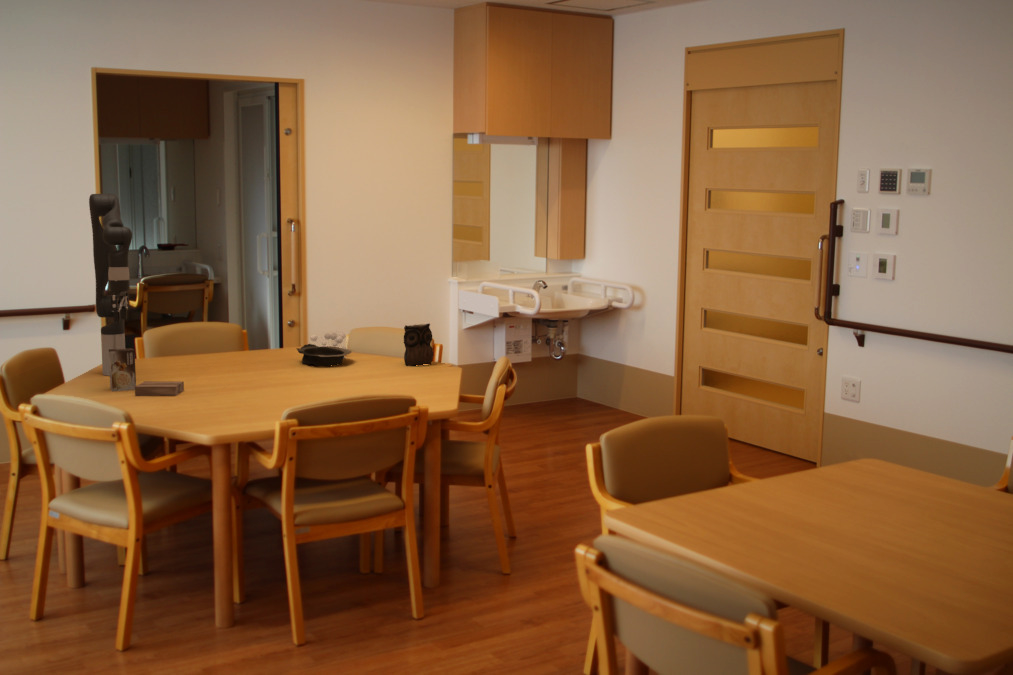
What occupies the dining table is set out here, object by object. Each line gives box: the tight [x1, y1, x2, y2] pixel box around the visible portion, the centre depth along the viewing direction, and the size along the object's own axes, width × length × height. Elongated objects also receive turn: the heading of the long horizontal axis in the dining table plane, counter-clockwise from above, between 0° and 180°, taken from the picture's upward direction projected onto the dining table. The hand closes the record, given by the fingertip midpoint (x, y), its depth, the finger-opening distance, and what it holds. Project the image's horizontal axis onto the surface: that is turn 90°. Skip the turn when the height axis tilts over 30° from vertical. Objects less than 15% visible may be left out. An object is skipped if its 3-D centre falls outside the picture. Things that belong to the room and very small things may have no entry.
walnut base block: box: [134, 380, 185, 397], centre depth 377 cm, size 12×15×4 cm
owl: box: [403, 323, 435, 367], centre depth 448 cm, size 13×13×20 cm
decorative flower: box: [308, 330, 347, 360], centre depth 470 cm, size 25×22×14 cm
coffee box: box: [108, 347, 137, 392], centre depth 382 cm, size 9×6×16 cm
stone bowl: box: [296, 343, 352, 367], centre depth 448 cm, size 25×25×9 cm
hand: (120, 320), depth 380 cm, fingers open, 8 cm apart
